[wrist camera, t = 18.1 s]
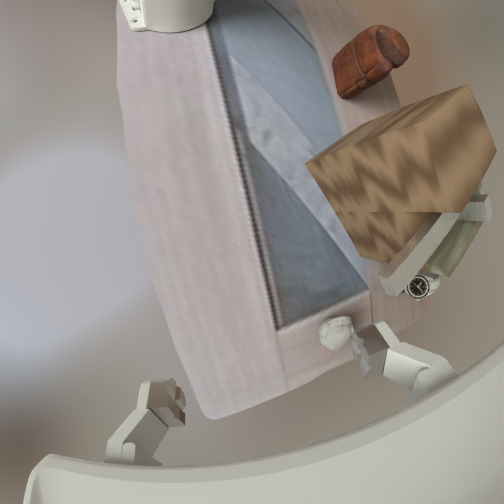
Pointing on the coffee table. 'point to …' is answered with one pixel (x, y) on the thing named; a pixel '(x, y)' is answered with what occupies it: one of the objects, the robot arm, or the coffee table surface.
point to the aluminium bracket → (429, 243)
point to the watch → (423, 285)
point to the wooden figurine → (368, 59)
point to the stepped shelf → (409, 176)
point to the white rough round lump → (336, 332)
